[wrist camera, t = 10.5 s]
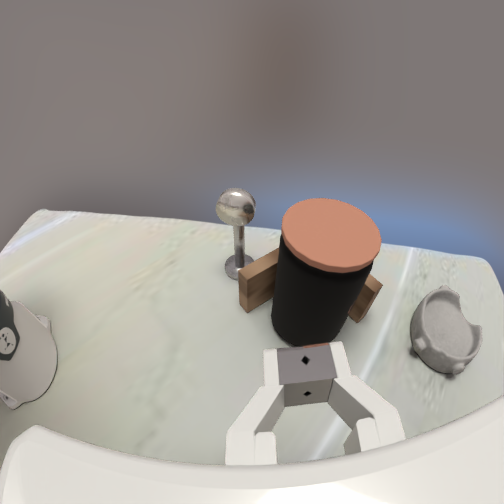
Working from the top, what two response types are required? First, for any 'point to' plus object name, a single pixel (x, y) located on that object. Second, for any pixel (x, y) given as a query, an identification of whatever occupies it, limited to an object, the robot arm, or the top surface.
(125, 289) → the top surface
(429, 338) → the dish
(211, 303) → the top surface
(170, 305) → the top surface
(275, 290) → the coffee jar
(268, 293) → the wooden l-shaped bracket
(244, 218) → the metal ball stand
